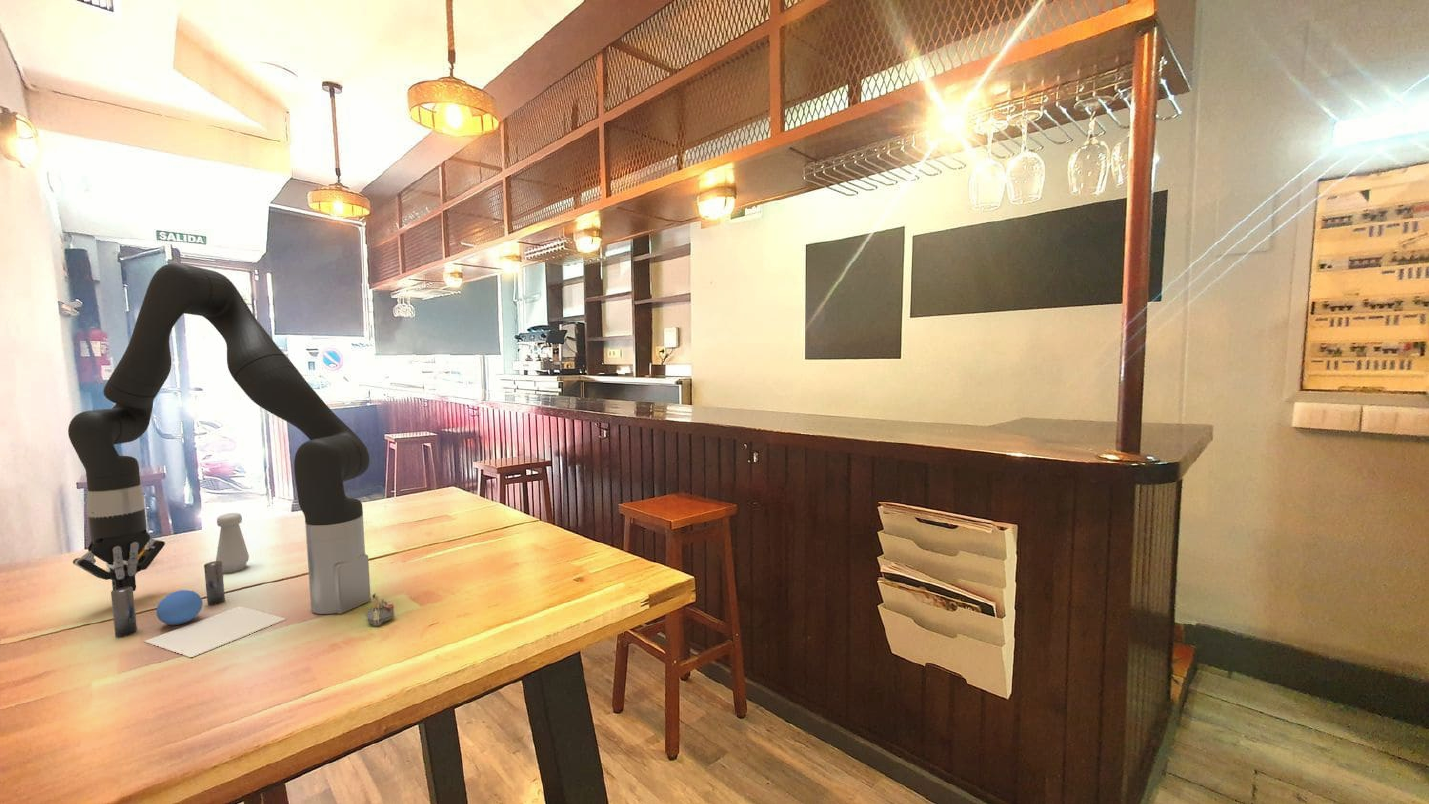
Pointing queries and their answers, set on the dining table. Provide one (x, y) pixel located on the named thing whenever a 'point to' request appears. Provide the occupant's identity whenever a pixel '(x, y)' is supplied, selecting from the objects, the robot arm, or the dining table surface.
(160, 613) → the ball
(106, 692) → the dining table surface
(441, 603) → the dining table surface
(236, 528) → the salt shaker
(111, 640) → the dining table surface
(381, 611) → the figurine
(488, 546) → the dining table surface
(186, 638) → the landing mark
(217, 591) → the right post
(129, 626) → the left post
